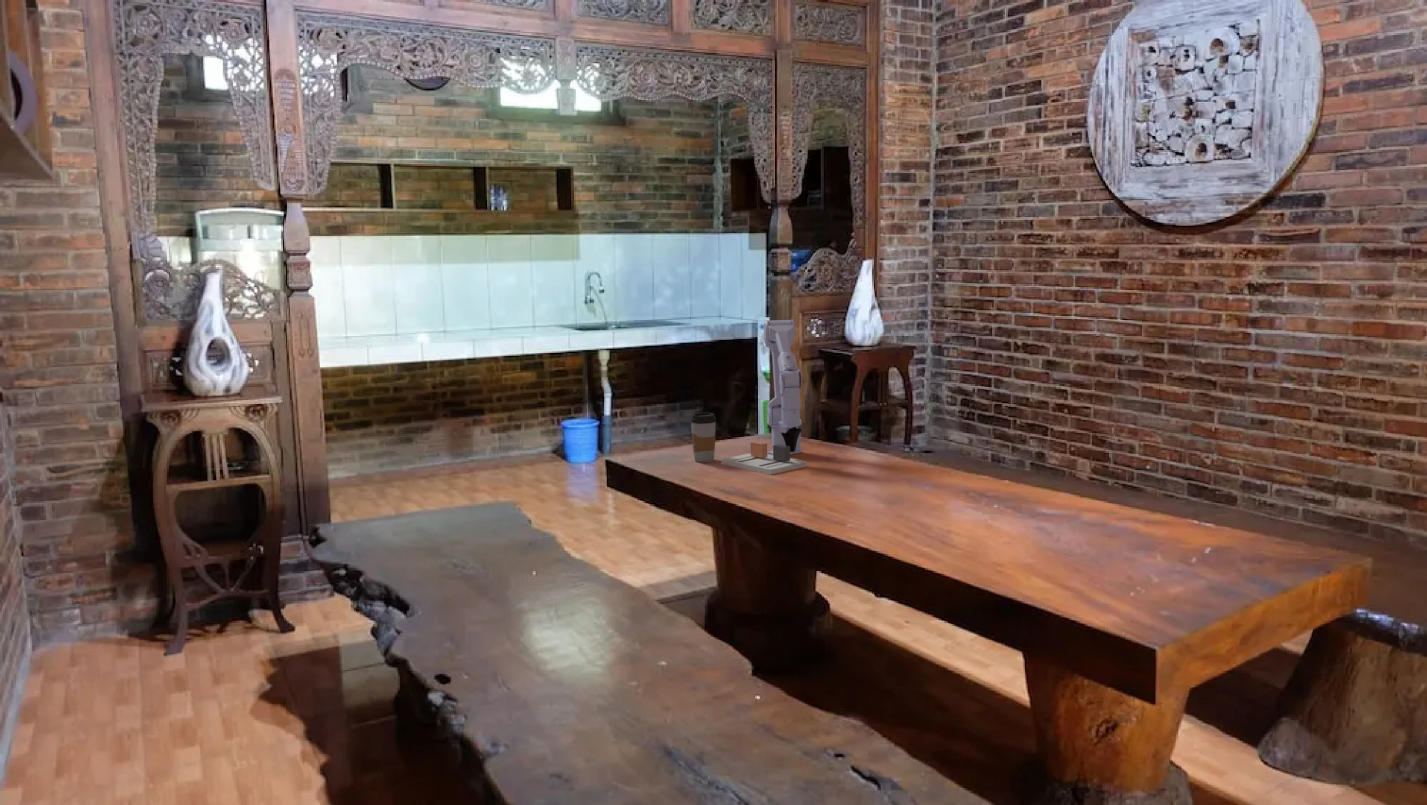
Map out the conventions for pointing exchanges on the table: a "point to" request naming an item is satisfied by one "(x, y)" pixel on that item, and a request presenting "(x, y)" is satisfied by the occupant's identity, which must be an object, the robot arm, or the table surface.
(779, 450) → the fader
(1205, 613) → the table surface
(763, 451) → the block
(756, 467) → the mixer plate
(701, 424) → the coffee cup
